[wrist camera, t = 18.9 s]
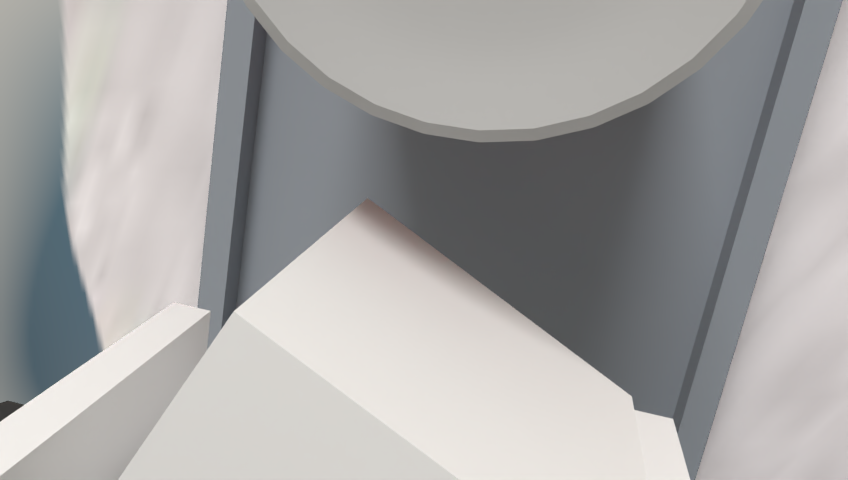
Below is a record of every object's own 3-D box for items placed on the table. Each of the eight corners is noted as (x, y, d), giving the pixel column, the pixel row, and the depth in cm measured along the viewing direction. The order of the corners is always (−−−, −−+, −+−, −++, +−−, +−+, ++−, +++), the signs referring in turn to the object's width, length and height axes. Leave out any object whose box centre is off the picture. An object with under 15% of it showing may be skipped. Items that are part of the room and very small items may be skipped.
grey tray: (309, -308, 22) (263, -370, 18) (870, -234, 20) (931, -288, 17) (232, 372, 28) (186, 418, 24) (661, 476, 26) (675, 542, 22)
